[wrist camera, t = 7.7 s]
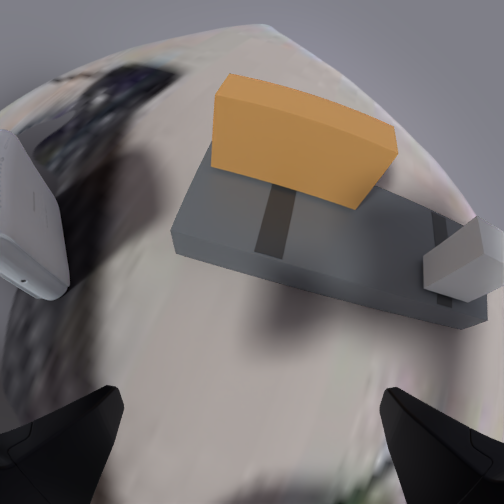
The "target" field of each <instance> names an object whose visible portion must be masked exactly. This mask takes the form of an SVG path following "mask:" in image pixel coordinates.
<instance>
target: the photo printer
mask: <svg viewBox="0 0 504 504" xmlns="http://www.w3.org/2000/svg"><path fill="white" fill-rule="evenodd" d="M0 276H1V277H2V278H4V279H6V280H7V281H9V282H10V283H12V284H14V285H15V286H17V287H18V288H20V289H22V290H23V291H25V292H27V293H28V294H30V295H32V296H33V297H35V298H37V299H40V298H44V299H46V300H55V299H58V298H59V297H61V296H62V295H63V294H64V293H65V292H66V290H67V287H69V286H70V275H69V267H68V261H67V254H66V248H65V241H64V234H63V228H62V222H61V216H60V210H59V206H58V203H57V201H56V199H55V197H54V195H53V194H52V192H51V191H50V189H49V188H48V186H47V185H46V183H45V182H44V180H43V179H42V177H41V175H40V174H39V172H38V171H37V169H36V167H35V166H34V164H33V163H32V161H31V159H30V158H29V156H28V155H27V153H26V151H25V149H24V148H23V146H22V144H21V142H20V141H19V139H18V138H17V136H16V135H15V134H13V133H12V132H10V131H8V130H4V129H0Z"/></svg>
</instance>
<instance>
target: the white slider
mask: <svg viewBox="0 0 504 504" xmlns="http://www.w3.org/2000/svg"><path fill="white" fill-rule="evenodd" d="M423 275H424V289H426V290H430V291H433V292H436V293H439V294H442V295H446V296H449V297H452V298H455V299H458V300H461V301H464V302H467V303H468V302H470V301H473V300H475V299H477V298H479V297H481V296H484V295H486V294H488V293H490V292H492V291H494V290H496V289H498V288H500V287H502V286H504V232H503V231H501V230H500V229H498V228H496V227H495V226H493V225H492V224H490V223H489V222H487V221H485V220H484V219H482V218H480V217H479V216H476V217H475V218H474V219H472V220H471V221H470V222H468V223H467V224H466V225H465V226H463V227H462V228H461V229H459V230H458V231H457V232H455V233H454V234H453V235H451V236H450V237H449V238H447V239H446V240H445V241H443V242H442V243H441V244H439V245H438V246H436V247H435V248H434V249H432V250H431V251H429V252H428V253H427V254H425V255H424V256H423Z"/></svg>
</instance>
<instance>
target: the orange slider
mask: <svg viewBox="0 0 504 504" xmlns="http://www.w3.org/2000/svg"><path fill="white" fill-rule="evenodd" d="M397 155H398V148H397V142H396V136H395V131H394V127H393V126H391V125H389V124H387V123H385V122H382V121H380V120H378V119H376V118H373V117H371V116H369V115H366V114H364V113H361V112H359V111H356V110H354V109H351V108H349V107H346V106H343V105H341V104H338V103H335V102H332V101H329V100H327V99H324V98H321V97H318V96H315V95H312V94H308V93H305V92H302V91H299V90H295V89H292V88H288V87H285V86H281V85H278V84H274V83H270V82H266V81H262V80H258V79H253V78H249V77H244V76H240V75H235V74H229V75H228V76H227V78H226V79H225V81H224V82H223V84H222V85H221V87H220V88H219V90H218V91H217V93H216V94H215V103H214V118H213V135H212V154H211V167H214V168H218V169H222V170H226V171H230V172H234V173H237V174H241V175H245V176H248V177H252V178H256V179H259V180H263V181H266V182H270V183H273V184H276V185H280V186H283V187H286V188H290V189H293V190H296V191H299V192H303V193H306V194H309V195H312V196H315V197H318V198H321V199H324V200H327V201H330V202H333V203H336V204H339V205H342V206H345V207H348V208H351V209H354V210H356V208H357V207H358V206H359V205H360V203H361V202H362V201H363V200H364V198H365V197H366V196H367V194H368V193H369V192H370V191H371V189H372V188H373V187H374V185H375V184H376V183H377V182H378V180H379V179H380V178H381V176H382V175H383V174H384V172H385V171H386V170H387V168H388V167H389V166H390V164H391V163H392V162H393V160H394V159H395V158H396V156H397Z"/></svg>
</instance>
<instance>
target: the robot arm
mask: <svg viewBox="0 0 504 504" xmlns="http://www.w3.org/2000/svg"><path fill="white" fill-rule="evenodd" d="M123 411H124V404H123V401H122V398H121V395H120V392H119V389H118V388H117V387H115V386H110V385H106V386H104V387H102V388H100V389H98V390H96V391H94V392H92V393H90V394H88V395H86V396H84V397H82V398H80V399H78V400H76V401H74V402H72V403H70V404H68V405H66V406H64V407H62V408H60V409H58V410H56V411H54V412H51V413H49V414H47V415H45V416H43V417H41V418H39V419H36V420H34V421H33V422H30V423H28V424H25V425H23V426H21V427H18V428H16V429H13V430H11V431H8V432H5V433H2V434H0V504H90V503H91V500H92V497H93V495H94V492H95V490H96V487H97V484H98V482H99V479H100V477H101V474H102V472H103V469H104V467H105V464H106V462H107V459H108V457H109V455H110V452H111V450H112V447H113V445H114V442H115V439H116V435H117V432H118V428H119V425H120V421H121V418H122V414H123ZM380 415H381V419H382V424H383V428H384V432H385V437H386V441H387V445H388V449H389V452H390V455H391V458H392V460H393V463H394V466H395V469H396V472H397V475H398V478H399V481H400V484H401V487H402V490H403V493H404V496H405V499H406V502H407V504H504V443H502V442H500V441H497V440H495V439H492V438H490V437H488V436H486V435H483V434H481V433H479V432H477V431H475V430H474V429H472V428H469V427H468V426H466V425H464V424H462V423H460V422H458V421H457V420H455V419H453V418H451V417H449V416H447V415H446V414H444V413H442V412H440V411H438V410H436V409H435V408H433V407H431V406H429V405H428V404H426V403H424V402H422V401H420V400H419V399H417V398H415V397H413V396H412V395H410V394H408V393H406V392H405V391H403V390H401V389H400V388H398V387H393V388H388V389H386V390H385V391H384V394H383V398H382V401H381V404H380Z"/></svg>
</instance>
